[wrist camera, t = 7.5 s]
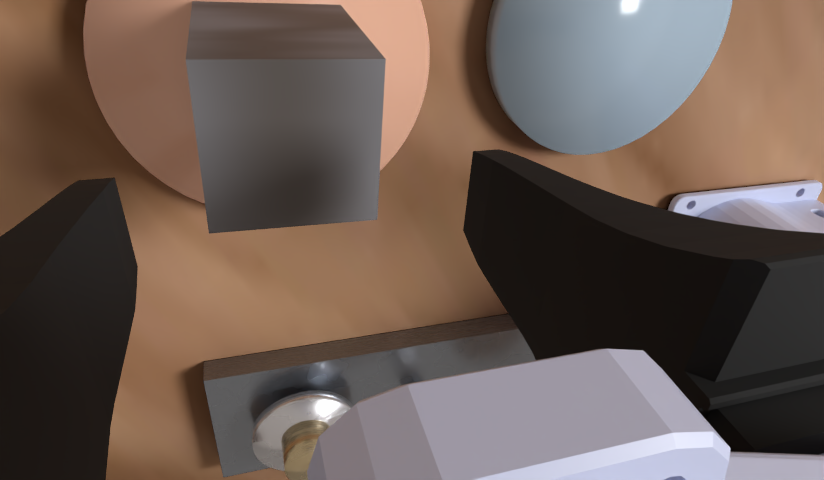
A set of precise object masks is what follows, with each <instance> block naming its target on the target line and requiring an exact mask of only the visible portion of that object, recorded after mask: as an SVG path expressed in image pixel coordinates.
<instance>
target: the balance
mask: <svg viewBox="0 0 824 480" xmlns="http://www.w3.org/2000/svg"><path fill="white" fill-rule="evenodd" d="M530 361H536V359H535V357H534V355H533V353H532V351H531V349H530V348H529V346H528V344H527V342H526V341H525V339H524V337H523V335H522V334H521V332H520V331H519V329H518V327H517V326H516V324H515V323H514V321H513V320H512V318H511V317H510V315H509V314H504V315H498V316H492V317H485V318H479V319H473V320H466V321H460V322H454V323H447V324H441V325H434V326H428V327H422V328H415V329H409V330H403V331H396V332H390V333H384V334H377V335H371V336H364V337H358V338H352V339H345V340H339V341H333V342H326V343H320V344H314V345H307V346H301V347H295V348H288V349H282V350H275V351H269V352H263V353H256V354H250V355H244V356H237V357H231V358H225V359H218V360H212V361H205V362H204V386H205V391H206V395H207V400H208V405H209V410H210V415H211V420H212V424H213V429H214V434H215V439H216V444H217V449H218V453H219V458H220V463H221V468H222V473H223V477H228V476H233V475H237V474H242V473H247V472H252V471H256V470H261V469H266V468H273V469H277V470H282V471H285V474H286V476H287V477H288V478H289V479H290V480H308V476H307V470H308V467H309V464H310V461H311V458H312V455H313V452H314V449H315V446H316V443H317V440H318V437H319V436H320V435H321V434H322V433H323V432H324V431H326V430H327V429H328V428H329V427H330V426H331V425H332V424H334V423H335V422H336V421H337V420H338V419H339V418H340V417H342V416H343V415H344V414H345V413H346V412H347V411H348V410H350V409H351V408H352V407H353V406H354V405H355V404H356V403H358V402H359V401H361V400H364V399H366V398H369V397H372V396H374V395H377V394H380V393H383V392H385V391H388V390H391V389H393V388H396V387H399V386H401V385H404V384H409V383H415V382H420V381H426V380H431V379H437V378H442V377H448V376H453V375H459V374H464V373H470V372H475V371H481V370H486V369H492V368H497V367H503V366H508V365H514V364H519V363H525V362H530Z"/></svg>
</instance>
